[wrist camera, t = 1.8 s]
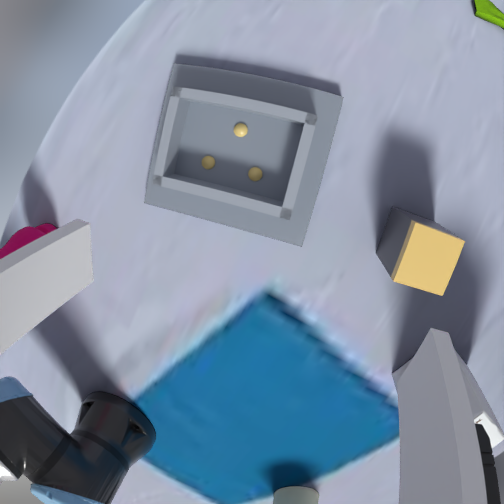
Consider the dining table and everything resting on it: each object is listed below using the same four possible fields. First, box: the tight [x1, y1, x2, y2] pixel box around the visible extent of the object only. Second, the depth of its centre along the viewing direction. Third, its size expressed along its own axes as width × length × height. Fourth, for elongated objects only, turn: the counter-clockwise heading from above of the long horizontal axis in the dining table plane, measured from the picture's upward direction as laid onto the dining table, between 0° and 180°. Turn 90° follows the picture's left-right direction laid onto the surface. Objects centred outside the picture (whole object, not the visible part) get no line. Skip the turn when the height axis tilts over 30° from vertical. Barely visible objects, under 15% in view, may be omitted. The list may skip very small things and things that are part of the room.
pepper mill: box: [0, 223, 57, 259], centre depth 31 cm, size 7×7×20 cm
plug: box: [376, 206, 465, 296], centre depth 29 cm, size 6×6×8 cm
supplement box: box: [392, 349, 504, 448], centre depth 30 cm, size 9×9×15 cm
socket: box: [144, 63, 344, 247], centre depth 31 cm, size 16×18×4 cm
